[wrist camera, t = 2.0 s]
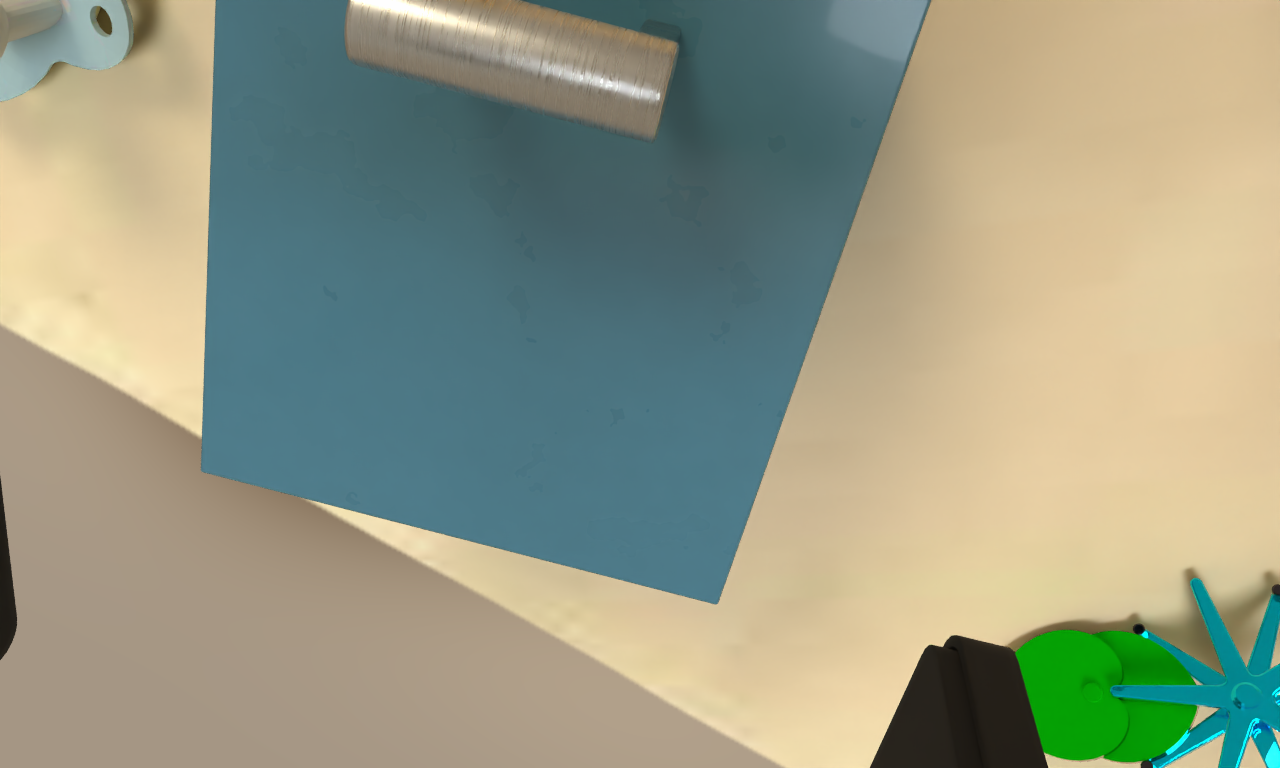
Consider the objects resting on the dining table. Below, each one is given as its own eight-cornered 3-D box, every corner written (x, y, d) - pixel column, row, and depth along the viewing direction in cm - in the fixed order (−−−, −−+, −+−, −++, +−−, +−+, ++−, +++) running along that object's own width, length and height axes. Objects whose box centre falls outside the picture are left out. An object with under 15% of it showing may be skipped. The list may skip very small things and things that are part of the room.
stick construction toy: (1383, 571, 33) (1427, 842, 30) (1369, 617, 38) (1405, 850, 35) (986, 575, 39) (990, 802, 36) (1024, 615, 44) (1030, 815, 41)
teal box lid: (240, -207, 20) (70, -213, 15) (931, -22, 20) (981, 30, 15) (214, 455, 27) (95, 592, 22) (719, 585, 27) (707, 748, 22)
